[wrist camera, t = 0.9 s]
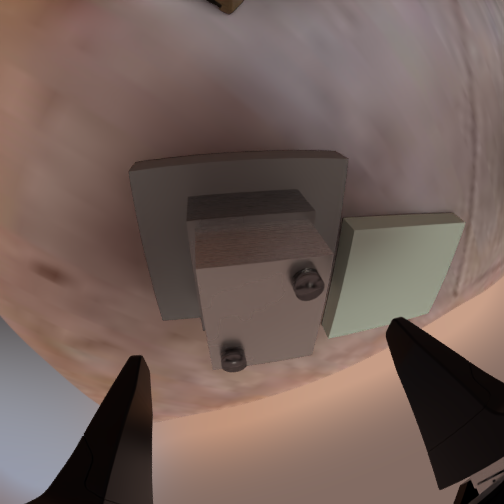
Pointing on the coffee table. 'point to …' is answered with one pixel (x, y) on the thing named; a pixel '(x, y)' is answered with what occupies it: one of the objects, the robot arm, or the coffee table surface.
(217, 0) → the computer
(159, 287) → the stand
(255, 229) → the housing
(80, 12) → the coffee table surface
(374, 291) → the stand
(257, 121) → the coffee table surface
